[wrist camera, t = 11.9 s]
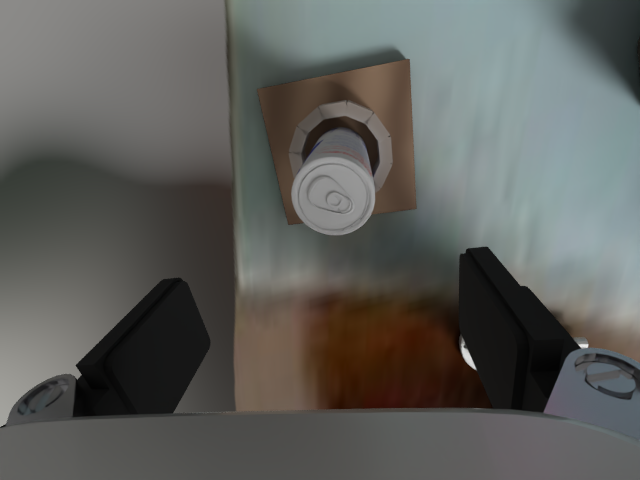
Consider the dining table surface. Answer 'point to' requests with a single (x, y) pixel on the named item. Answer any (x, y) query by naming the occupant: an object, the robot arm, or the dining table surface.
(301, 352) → the dining table surface
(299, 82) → the can stand
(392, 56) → the dining table surface
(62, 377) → the robot arm
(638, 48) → the stone bowl
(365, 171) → the beverage can
